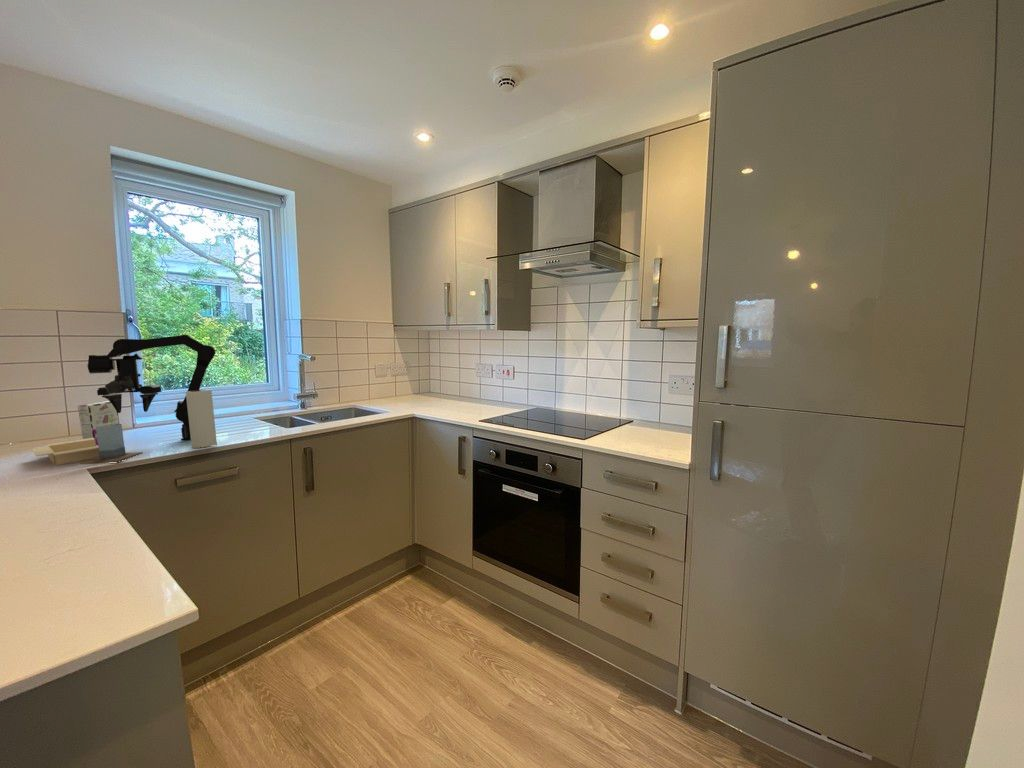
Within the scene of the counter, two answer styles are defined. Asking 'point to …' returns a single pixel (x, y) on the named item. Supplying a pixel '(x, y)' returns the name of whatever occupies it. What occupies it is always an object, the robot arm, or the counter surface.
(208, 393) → the tall white block
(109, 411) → the candy bar box
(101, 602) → the counter surface
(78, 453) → the carton
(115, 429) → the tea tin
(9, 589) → the counter surface
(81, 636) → the counter surface
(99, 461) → the board
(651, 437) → the counter surface
